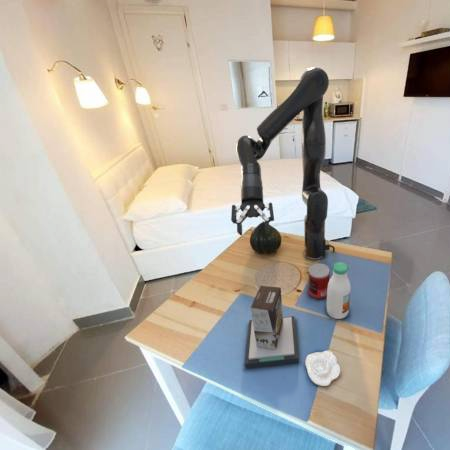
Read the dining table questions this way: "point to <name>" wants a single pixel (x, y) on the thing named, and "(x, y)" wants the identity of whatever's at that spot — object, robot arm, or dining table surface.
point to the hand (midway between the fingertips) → (253, 233)
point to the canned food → (318, 280)
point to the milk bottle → (338, 292)
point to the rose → (322, 367)
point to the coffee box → (267, 317)
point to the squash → (265, 239)
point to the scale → (269, 357)
